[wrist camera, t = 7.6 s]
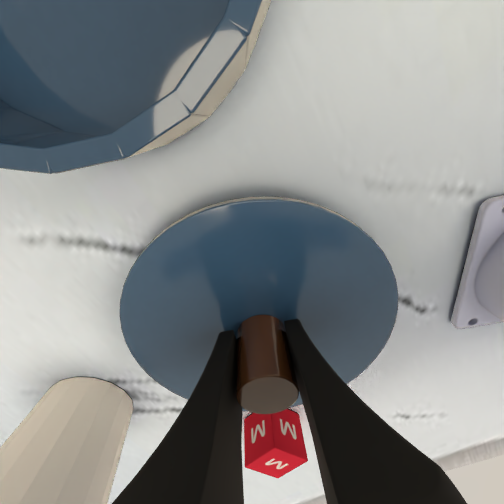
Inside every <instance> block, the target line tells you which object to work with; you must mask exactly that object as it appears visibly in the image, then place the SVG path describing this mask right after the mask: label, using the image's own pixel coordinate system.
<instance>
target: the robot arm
mask: <svg viewBox="0 0 504 504" xmlns="http://www.w3.org/2000/svg"><path fill="white" fill-rule="evenodd" d="M503 206H504V195H502V196H497V197H492V198H489V199H487V200H486V201H484V202H483V203H482V204H481V206H480V208H479V211H478V215H477V219H476V223H475V226H474V230H473V234H472V238H471V242H470V246H469V250H468V254H467V258H466V262H465V266H464V270H463V274H462V278H461V282H460V286H459V290H458V294H457V298H456V302H455V306H454V310H453V314H452V318H451V323H452V325H453V326H454V327H456V328H457V329H465V328H471V327H477V326H483V325H489V324H495V323H501V322H504V208H503ZM502 208H503V209H502ZM284 324H285V330H286V335H287V340H288V344H289V349H290V353H291V356H292V360H293V365H294V369H295V374H296V379H297V383H298V388H299V392H300V396H301V399H302V402H303V405H304V409H305V412H306V415H307V419H308V422H309V426H310V429H311V433H312V437H313V442H314V446H315V451H316V455H317V460H318V464H319V469H320V473H321V478H322V482H323V487H324V491H325V496H326V501H327V504H467V503H466V501H465V500H464V498H463V497H462V495H461V494H460V492H459V491H458V490H457V488H456V487H455V485H454V484H453V483H452V481H451V480H450V479H449V477H448V476H447V475H446V474H445V472H444V471H443V470H442V469H441V467H440V466H439V465H437V464H436V463H435V462H434V461H432V460H431V459H430V458H428V457H427V456H426V455H424V454H423V453H422V452H421V451H419V450H418V449H417V448H416V447H414V446H413V445H412V444H411V443H409V442H408V441H407V440H406V439H405V438H403V437H402V436H401V435H400V434H399V433H397V432H396V431H395V430H394V429H393V428H392V427H390V426H389V425H388V424H387V423H386V422H385V421H384V420H383V419H381V418H380V417H379V416H378V415H377V414H376V413H375V412H374V411H373V410H372V409H371V408H369V407H368V406H367V405H366V404H365V403H364V402H363V401H362V400H361V399H360V398H359V397H358V396H357V395H356V394H355V393H354V392H353V391H352V390H351V389H350V388H349V387H348V386H347V384H346V383H345V382H344V381H343V380H342V379H341V378H340V377H339V376H338V374H337V373H336V372H335V371H334V370H333V369H332V367H331V366H330V365H329V364H328V363H327V361H326V360H325V359H324V357H323V356H322V355H321V353H320V352H319V351H318V349H317V348H316V347H315V345H314V344H313V342H312V341H311V339H310V338H309V336H308V335H307V333H306V332H305V330H304V328H303V326H302V324H301V322H300V320H298V319H292V320H286V321H284ZM236 357H237V340H236V337H235V334H234V331H233V330H229V331H223V332H220V333H219V335H218V338H217V340H216V343H215V346H214V348H213V351H212V353H211V355H210V358H209V360H208V362H207V364H206V366H205V369H204V371H203V373H202V375H201V377H200V379H199V381H198V383H197V385H196V387H195V389H194V390H193V392H192V394H191V396H190V398H189V400H188V401H187V403H186V405H185V406H184V408H183V410H182V411H181V413H180V415H179V416H178V418H177V419H176V421H175V422H174V424H173V425H172V427H171V428H170V430H169V431H168V433H167V434H166V436H165V437H164V439H163V440H162V442H161V443H160V444H159V446H158V447H157V449H156V450H155V451H154V452H153V454H152V455H151V456H150V458H149V459H148V460H147V462H146V463H145V464H144V466H143V467H142V468H141V469H140V471H139V472H138V473H137V475H136V476H135V477H134V478H133V480H132V481H131V482H130V483H129V484H128V485H127V487H126V488H125V489H124V490H123V491H122V492H121V494H120V495H119V496H118V497H117V498H116V499H115V501H114V502H113V503H112V504H244V496H243V476H242V451H241V433H242V409H243V408H242V407H241V406H240V405H239V403H238V402H237V399H236Z"/></svg>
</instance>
